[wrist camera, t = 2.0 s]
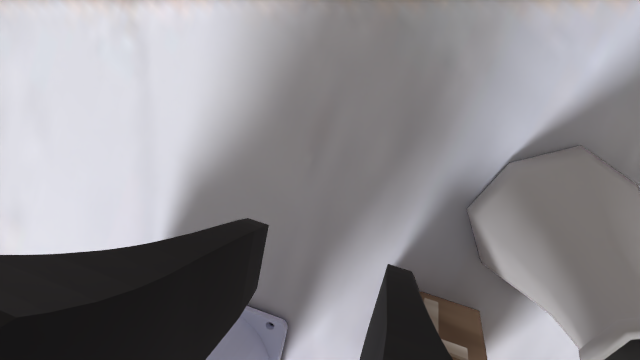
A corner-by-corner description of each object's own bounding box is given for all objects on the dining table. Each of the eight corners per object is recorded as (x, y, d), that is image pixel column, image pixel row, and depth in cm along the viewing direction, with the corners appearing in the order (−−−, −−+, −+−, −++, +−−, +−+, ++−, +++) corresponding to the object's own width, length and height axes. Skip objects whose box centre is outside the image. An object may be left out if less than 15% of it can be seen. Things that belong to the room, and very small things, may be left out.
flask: (588, 114, 17) (762, 180, 8) (679, 250, 18) (940, 458, 9) (439, 201, 20) (440, 325, 11) (521, 317, 21) (590, 530, 11)
